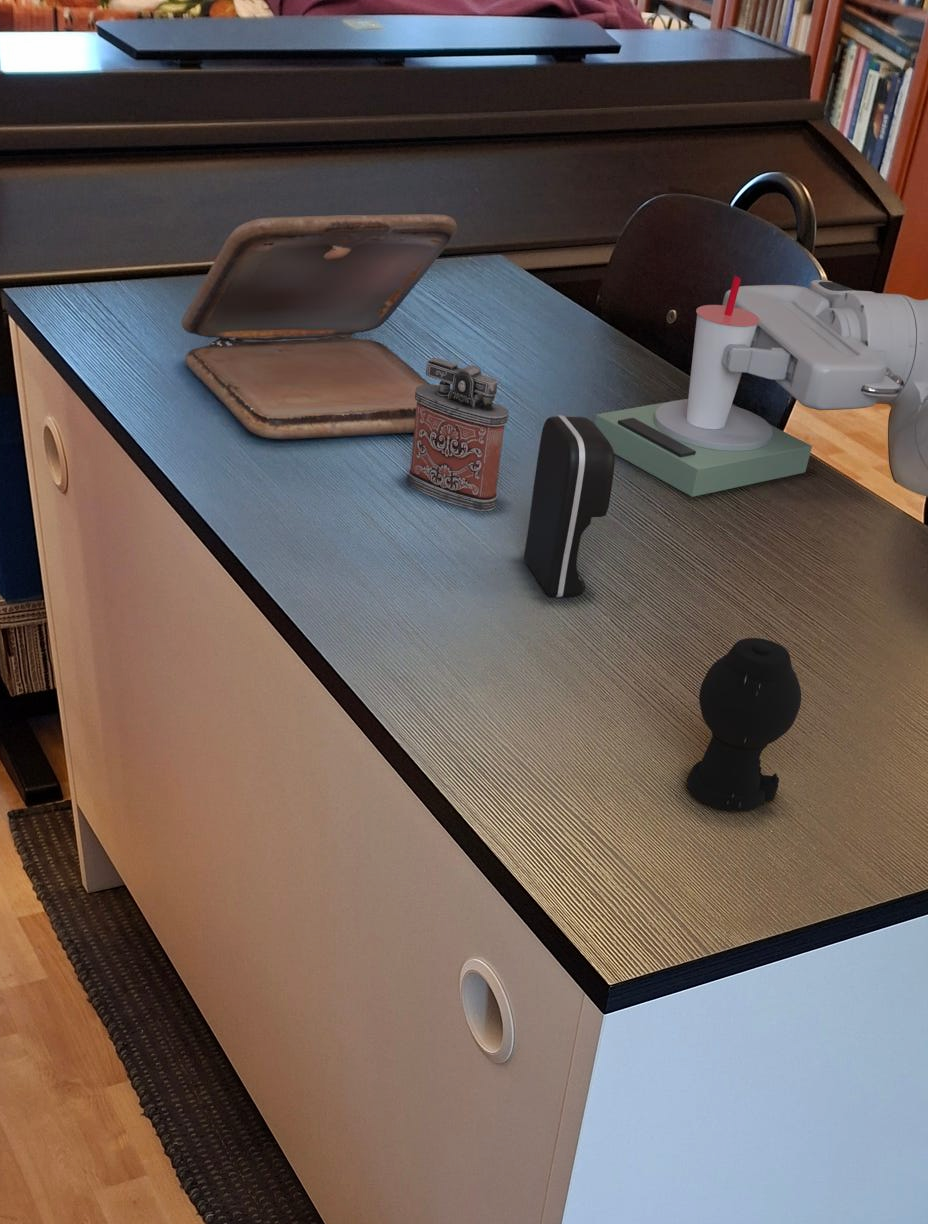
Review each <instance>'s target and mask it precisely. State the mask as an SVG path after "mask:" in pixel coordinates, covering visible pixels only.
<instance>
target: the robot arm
mask: <svg viewBox="0 0 928 1224" xmlns="http://www.w3.org/2000/svg"><path fill="white" fill-rule="evenodd" d="M730 291H731V289H728V290H726V292H725V294H724V297H723V300H722V304H721V305H724V306H727V302H728V299H729V295H730ZM734 307H736V308H740V309H743V310H746V311H749V312H751V313H753V314H755V315H756V316H758V318H759V319H760V322H759V323H758V324H757V327H756V330H755V333H754V336H753V339H752V342H751V346H750V348H749V347H748V346H746V345H745V344H737V345H735V344H729V345H727V346H726V347H725V350H724V357H723V359H722V363H723V364H724V365H725V366H726V367H727V369H728V370H729V371H731V372H742V373H747V374H750V375H753V376H756V377H760V378H763V379H768V380H774V381H775V382H776V383H778V385H779V386H781V387H782V389H784V390H785V391H786V392H787V393H788V394H790V396H791V397H793V398H794V399H795V400H796V401H797V402H798V403H799V404H800V405H802V406H803V407H806V408H808V409H813V410H817V411H841V410H843V411H844V410H857V409H866V408H870V407H874V406H875V405H888V406H889V407H890V409H889V413H888V420H887V421H888V422H887V453H888V455H887V456H888V466H889V470H890V471H889V472H890V474H891V477H892V480H893V482H894V483H895V484H896V485H899V486H900V487H902V488H904V489H905V490H908V491H910V492H911V493H915V494H917V495H920V496H923V497H926V498H928V298H927V299H915V298H913V297H910V296H908V295H906V294H901V293H879V292H878V293H877V292H874V291H870V290H855V289H853V288H850V287H848V286H845V285H842V284H839V283H837V282H833V281H831V280H827V279H826V280H825V279H813V280H811V281H810V283H809V287H805V286H801V285H793V284H759V285H740V286H739V290H738V294H737V297H736V301H735V305H734Z"/></svg>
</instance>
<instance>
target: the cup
mask: <svg viewBox="0 0 928 1224" xmlns="http://www.w3.org/2000/svg"><path fill="white" fill-rule="evenodd" d="M741 281H742V279H741V278H740V277H738V276H737V275H734V276H733V279H732V284H731V287H730V290H731V291H730V295H729V299H728V302H727V306H724V305H722V304H706V305H705V304H704V305H701V306H699V307H697V308H696V310H695V312H696V322H695V331H694V340H693V341H694V342H693V350H692V357H691V358H692V361H691V369H690V377H689V378H690V379H689V385H688V386H689V388H688V398H687V399H688V407H687V418H686V420H687V421H688V422H689V423H690V424H692V425H694V426H696V427H700V428H704V429H721V428H723V427H724V426H725V423H726V420H727V417H728V414H729V411H730V408H731V405H732V406H733V401H734V399H735V396H736V393H737V391H738V386H739V384H740V380H741V377H742V374H743V372H731V371H729V370H728V369H727V367H726V366H725V365H724V364H723V363H722V359H723V357H724V350H725V347H726V346H727V345H729V344H735V345H737V344H745V345H746V346H748V347H749V348H750V346H751V342H752V339H753V336H754V333H755V330H756V327H757V324H758V323H759V322H760V319H759V318H758V316H756V315H755V314H753V313H751V312H749V311H746V310H743V309H740V308H736V307H734V305H735V301H736V297H737V294H738V290H739V287H740V286H741Z"/></svg>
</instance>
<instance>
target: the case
mask: <svg viewBox="0 0 928 1224" xmlns="http://www.w3.org/2000/svg"><path fill="white" fill-rule="evenodd" d="M457 230H458V225H457V222H456V220H455V219H454V218H453V217H452V216H450V215H446V214H436V213H428V214H427V213H422V214H421V213H418V214H416V213H413V214H412V213H411V214H406V213H405V214H380V215H379V214H341V215H340V214H338V215H305V216H276V217H275V216H274V217H273V216H271V217H262V218H261V217H260V218H256V219H252V220H249V221H247V222H244V223H242V224H240V225H238V226H237V227H235V229H234V230H233V231H232V232H230V234H229V235H228V237H227V238H226V240H225V243H224V244H223V246H222V248H221V249H220V251H219V253H218V255H217V256H216V258H215V260H214V262H213V263H212V265H211V267H210V269H209V271H208V272H207V274H206V276H205V277H204V279H203V282H202V283H201V285H200V286H199V288H198V289H197V292H196V294H195V295H194V296H193V299H192V300H191V302H190V304H189V306H188V307H187V308H186V311H185V312H184V314H183V316H182V318H181V327H182V329H183V330H184V331H185V332H187V333H189V334H192V335H197V336H200V337H204V338H209V339H210V338H216V340H214V341H212V342H210V344H209V345H205V346H202V347H200V346H199V347H196V348H192V349H190V350H189V351H187V353H186V354H185V356H184V362H185V364H186V366H187V367H188V369H190V371H192V373H193V374H194V375H195V376H196V377H197V378H198V379H199V380H200V381H202V383H203V384H204V385H205V386H207V388H208V389H209V390H211V392H212V393H213V394H214V395H215V396H216V397H217V399H219V401H221V402H222V404H223V405H224V406H225V407H226V408H227V409H228V410H229V411H230V412H231V414H232V415H233V416H234V417H235V418H236V419H237V420H238V422H240V424H242V425H243V426H244V427H245V429H246V430H247V431H249V432H250V433H252V434H254V435H256V436H258V437H261V438H264V439H270V440H271V439H272V440H298V439H300V440H301V439H319V438H320V439H321V438H334V437H335V438H336V437H337V438H339V437H355V436H374V435H389V434H411V433H412V434H414V427H415V416H416V406H417V401H416V400H415V392H416V387H418V386H420V385H425V384H431V383H430V382H428V381H427V380H426V379H425V378H423V377H422V376H421V375H420V374H419V373H418V372H417V371H416V370H415V369H414V368H413V367H412V366H411V365H410V364H408V363H407V362H406V361H404V359H402V358H401V357H400V356H399V355H398V354H397V353H395V352H394V351H393V350H391V349H390V348H389V347H388V346H387V345H385V344H383V343H381V342H379V341H376V340H371V339H364V338H354V337H352V336H351V335H353V334H357V333H365V332H370V331H373V330H376V329H378V328H380V327H381V326H382V325H383V324H384V323H386V322H387V321H388V320H389V319H390V317H391V316H392V315H393V314H394V312H395V311H396V310H397V309H398V308H399V307H400V306H401V304H402V302H404V300H405V299H406V298H407V296H408V295H409V294H410V293H411V292H412V291H413V289H414V288H415V287H416V285H418V283H419V282H420V280H421V279H422V278H423V277H424V276H425V274H426V273H427V272H428V271H429V269H430V268H431V266H433V264H434V263H435V262H436V260H437V259H438V258H439V257H440V256H441V254H442V253H443V251H444V250H445V249H446V247H447V246H448V244H449V243H450V242H451V241H452V240H453V238H454V237H455V235H456V233H457Z"/></svg>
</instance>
